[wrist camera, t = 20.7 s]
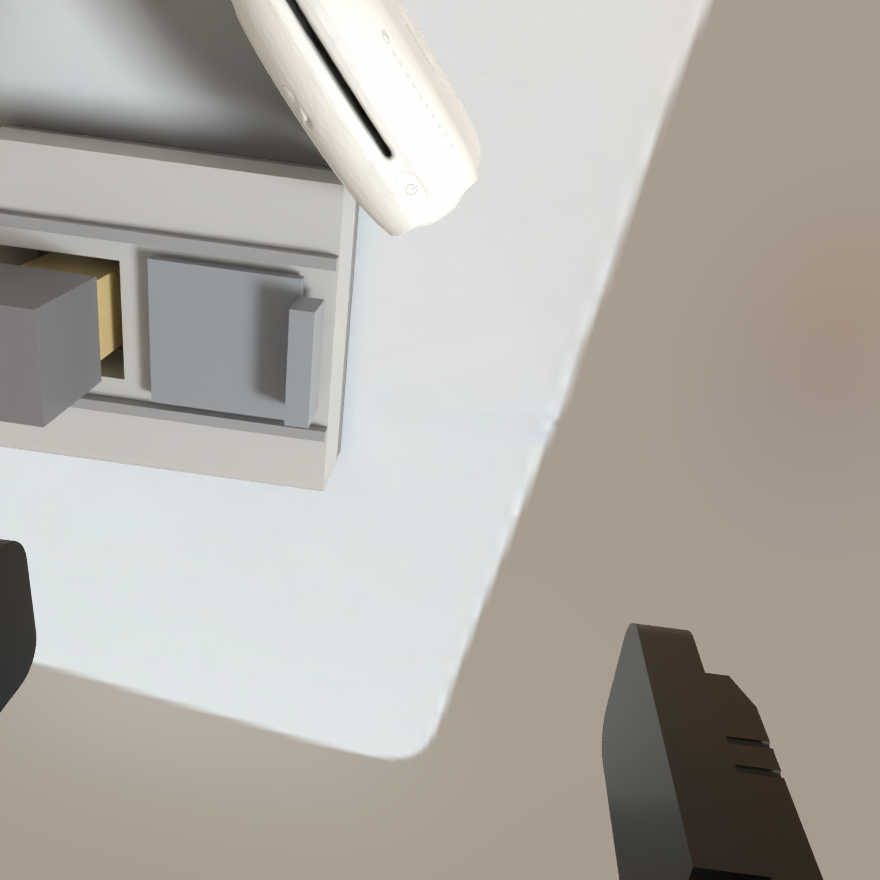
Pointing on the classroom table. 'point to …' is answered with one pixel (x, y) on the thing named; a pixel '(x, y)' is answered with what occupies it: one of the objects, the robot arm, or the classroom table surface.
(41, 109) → the classroom table surface
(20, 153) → the socket
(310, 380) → the shutter
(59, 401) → the plug
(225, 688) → the classroom table surface
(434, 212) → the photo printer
